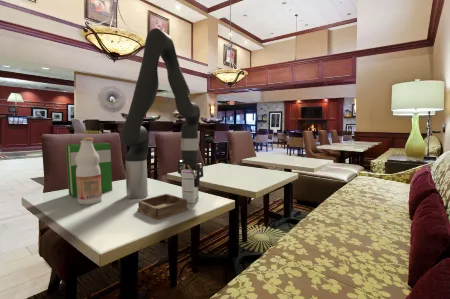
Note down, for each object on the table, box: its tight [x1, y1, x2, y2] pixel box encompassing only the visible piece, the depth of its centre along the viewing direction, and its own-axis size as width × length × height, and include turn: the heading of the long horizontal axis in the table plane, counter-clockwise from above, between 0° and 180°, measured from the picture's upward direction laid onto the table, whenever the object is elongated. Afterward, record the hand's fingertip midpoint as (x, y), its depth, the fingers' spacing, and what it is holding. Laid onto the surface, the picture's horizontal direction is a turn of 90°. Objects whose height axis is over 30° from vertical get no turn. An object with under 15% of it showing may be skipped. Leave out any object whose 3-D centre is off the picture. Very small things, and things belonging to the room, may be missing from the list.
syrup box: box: [180, 169, 200, 204], centre depth 110 cm, size 6×6×14 cm
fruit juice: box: [75, 137, 103, 205], centre depth 108 cm, size 9×9×28 cm
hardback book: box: [65, 142, 113, 199], centre depth 123 cm, size 18×7×24 cm, turn 135°
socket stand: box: [137, 193, 189, 221], centre depth 99 cm, size 14×14×4 cm
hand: (190, 185), depth 110 cm, fingers open, 8 cm apart
